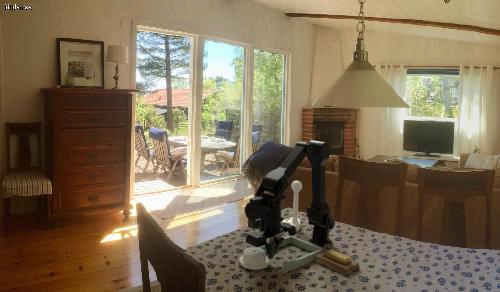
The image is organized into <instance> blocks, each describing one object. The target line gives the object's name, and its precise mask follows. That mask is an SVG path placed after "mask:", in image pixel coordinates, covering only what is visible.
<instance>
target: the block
mask: <svg viewBox="0 0 500 292" xmlns="http://www.w3.org/2000/svg"><path fill="white" fill-rule="evenodd" d="M325 258H327V259H330V260H332V261H334V262H337V263H339V264H342V265H344V266H347V265H349V264H350V259H351V258H352V257H351V256H350V255H349V256H348V255H346V254H343V253H341V252H339V251H336V250H334V249H327V250H326V251H325ZM351 260H352V259H351Z"/></svg>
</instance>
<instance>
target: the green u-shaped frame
mask: <svg viewBox="0 0 500 292" xmlns="http://www.w3.org/2000/svg"><path fill="white" fill-rule="evenodd" d="M284 238H285V240H284V241H283V242H282V244H281V245H280V247H279V248H281V247H283V246H287V245H289V244H291V245H294V246H296V247H300V248H302V249H304V250H306V251H308V252H310V253H308V254H306V255H302V256H300V257H297V258H295V259H293V260H291V261H288V262H285V263H284V264H282V273H285V274H286V273H288V272H291V271H293V270H295V269H297V268H299V267H301V266H304V265H306V264H309V263H311V262H313V261H315V256H316V255H319V254H321V253H323V252H326V251H325V250H326V249H325V248H323V247H320V246H318V245H316V244H313V243H312V242H311V243H310V242H309V241H306V240H303V239H301V238H298V237H296V236H294V235H292V236H290V235H288V236H285V237H284ZM255 248H257V247H255ZM258 248H261V249H263V250H264V251H265V252H266V253H267V250H266V247H265V245H264V246H261V247H258Z"/></svg>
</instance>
